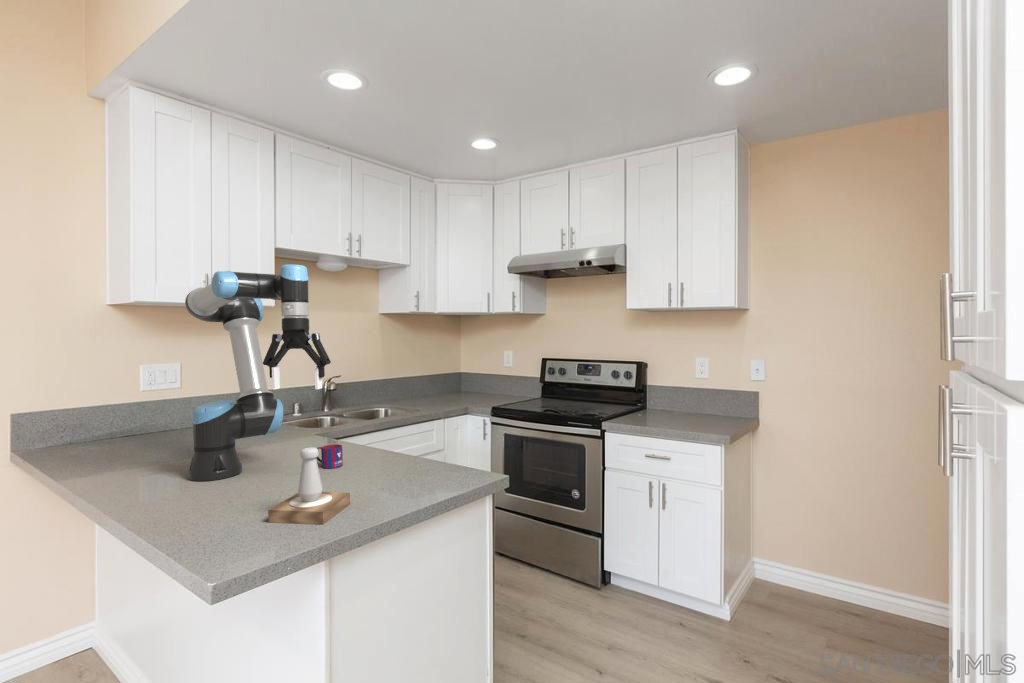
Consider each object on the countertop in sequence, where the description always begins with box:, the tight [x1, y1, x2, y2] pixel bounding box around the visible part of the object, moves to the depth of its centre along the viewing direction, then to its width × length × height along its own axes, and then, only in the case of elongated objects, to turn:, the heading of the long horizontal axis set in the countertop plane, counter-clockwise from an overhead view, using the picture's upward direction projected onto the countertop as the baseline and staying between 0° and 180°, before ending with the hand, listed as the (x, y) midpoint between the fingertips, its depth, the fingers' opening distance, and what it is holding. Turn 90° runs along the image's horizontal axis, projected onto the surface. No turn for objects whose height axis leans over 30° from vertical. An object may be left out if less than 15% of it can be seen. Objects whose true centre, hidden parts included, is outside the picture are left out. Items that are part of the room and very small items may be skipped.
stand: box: [267, 491, 351, 525], centre depth 129 cm, size 14×14×3 cm
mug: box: [316, 443, 344, 470], centre depth 174 cm, size 7×10×7 cm
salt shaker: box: [297, 446, 324, 502], centre depth 129 cm, size 6×6×13 cm
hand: (297, 388), depth 152 cm, fingers open, 13 cm apart
